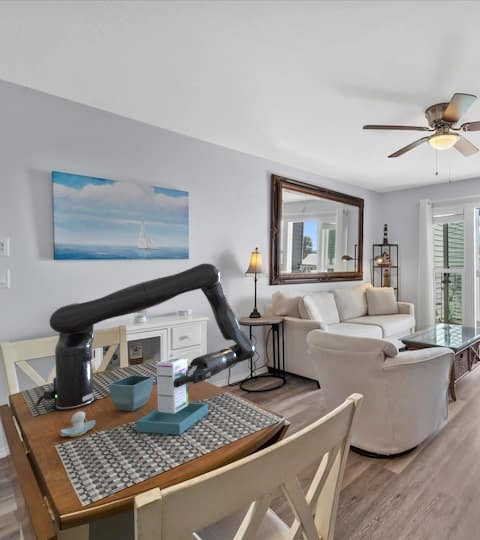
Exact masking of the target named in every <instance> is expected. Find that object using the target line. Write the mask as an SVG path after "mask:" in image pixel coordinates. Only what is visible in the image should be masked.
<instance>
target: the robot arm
mask: <svg viewBox="0 0 480 540" xmlns="http://www.w3.org/2000/svg"><path fill="white" fill-rule="evenodd" d="M222 285H223V284H222V282H221V274H220V271H219V269H218V267H217V266H216V265H214V264H211V263H205V262H204V263H200V264H198V265H196V266H193V267H191V268H188V269H186V270H183V271H181V272H177V273H174V274H172V275H166V276H162V277H158V278H154V279H153V278H152V279H150V280H146V281H143V282H139V283H136V284H133V285H130V286H127V287H124V288H121V289H119V290H116V291H114V292H112V293H109V294H107V295H105V296H102V297H100V298H96V299H93V300H89V301H85V302H74V303H70V304H67V305H63V306H61V307H59V308H56V310H54V312H52V314H51V315H50V318H49V321H48V324H49V326H50V328H51V329H52V330H53V331H54V332H57V333H58V340H57V343H56V345H55V347H54V359H55V363H54V364H55V377H54V378H53V381H52V382H53V388H50V389H48V390H45V391H43V395H42V396H40V397H39V398H38V399H37V401H36V403H35V407H39V406H40V404H41V402H42V401H43V400H45V401H52V400H53V407H54V408H56V410H59V411H66V410H67V411H69V410H74V409H78V408H82V407H84V406H88V405H90V404H92V403H93V402H94V401H95V399H94V380H93V379H94V375H93V374H94V373H93V371H94V370H93V344H94V339H95V325H96V324H99V323H101V322H103V321H106V320H110V319H113V318H114V319H115V318H118V317H123V316H127V315H130V314H134V313H137V312H141V311H145V310H148V309H151V308H154V307H156V306H159V305H161V304H164V303H167V302H168V301H170V300H172V299H174V298H176V297H177V296H180V295H182V294H186V293H189V292H193V291H197V290H201V291H202V293H203V294H204V296H205V297H206V299H207V302H208V304H209V306H210V308H211V311H212V314H213V317H214V320H215V322H216V325H217V327H218V329H219V331H220V334H221V336H222V338H223V339H224V340H225V341H233V342H234V343H235V344H233V345H230V346H228V347H226V348H225V347H224V348H221V349H219V350H216V351H211V352H208V353H205V354H203V355H200V356H197V357H195V358H193V359H192V360H191V362H190V364H187V368H188V374H187V375H186V376H183V377H180V378H178V379H175V380H174V387H176V388H177V387H179V386H182V385H184V384H188V385H189V384H193V385H196V384H199V383H200V382H203V381H206V380H209V379H211V378H212V377H213V376H216V375H218V374H220V373H221V372H222V371H225V370H227V369H229V368H231V367H232V366H234V365H236V364H239V363H242V362H244V361H247V360H250V359H252V358H253V357H254V355H255V353H256V348H255V344H254V343H253V341H252V340H251V339H250V338H249V336H248V335H247V334H246V332H245V331H244V330H243V329H242V327H241V325H240V322H239V321H238V318H237V316H236V314H235V312H234V311H233V309H232V306H231V305H230V302H229V301H228V299H227V297H226V295H225V292H224V288H223V286H222ZM155 385H157V377H155Z"/></svg>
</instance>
